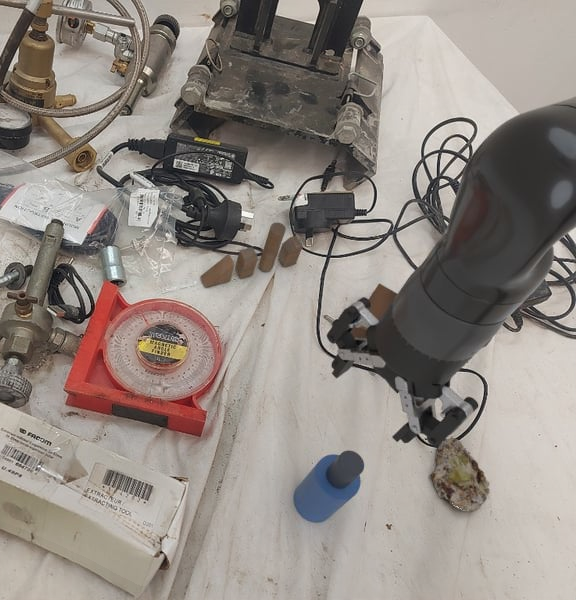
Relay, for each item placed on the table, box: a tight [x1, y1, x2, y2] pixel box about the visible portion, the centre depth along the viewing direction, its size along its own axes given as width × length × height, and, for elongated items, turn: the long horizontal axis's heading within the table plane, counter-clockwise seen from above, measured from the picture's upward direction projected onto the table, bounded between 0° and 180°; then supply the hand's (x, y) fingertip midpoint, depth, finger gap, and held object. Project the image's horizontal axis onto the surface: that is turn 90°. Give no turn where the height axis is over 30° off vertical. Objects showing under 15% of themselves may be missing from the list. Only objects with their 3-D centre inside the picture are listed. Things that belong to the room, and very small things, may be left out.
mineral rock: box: [430, 436, 491, 513], centre depth 82 cm, size 11×4×8 cm
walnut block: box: [351, 283, 398, 338], centre depth 94 cm, size 10×10×5 cm
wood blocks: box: [161, 221, 304, 294], centre depth 96 cm, size 25×3×10 cm, turn 111°
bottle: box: [293, 449, 365, 523], centre depth 73 cm, size 6×6×16 cm
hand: (369, 402), depth 60 cm, fingers open, 8 cm apart
